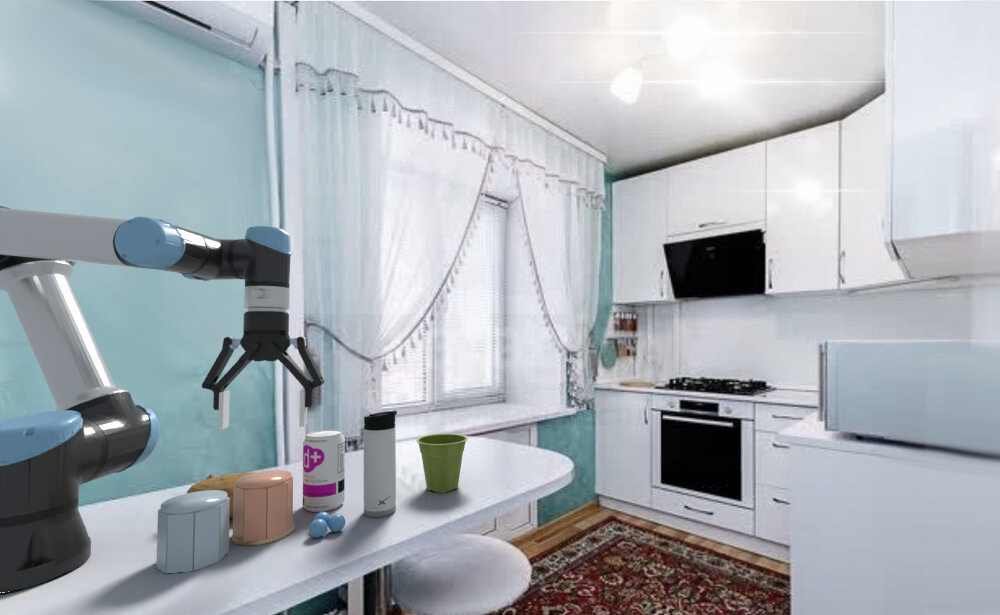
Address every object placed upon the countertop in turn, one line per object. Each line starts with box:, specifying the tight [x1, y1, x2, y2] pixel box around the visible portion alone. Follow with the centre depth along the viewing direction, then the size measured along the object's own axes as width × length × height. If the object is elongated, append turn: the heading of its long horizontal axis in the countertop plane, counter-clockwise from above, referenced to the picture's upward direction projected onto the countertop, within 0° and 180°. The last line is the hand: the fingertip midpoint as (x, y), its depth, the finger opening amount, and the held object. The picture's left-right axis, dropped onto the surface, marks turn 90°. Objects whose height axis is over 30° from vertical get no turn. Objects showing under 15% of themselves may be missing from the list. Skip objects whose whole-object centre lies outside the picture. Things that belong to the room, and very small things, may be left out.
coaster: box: [231, 522, 295, 547], centre depth 83 cm, size 10×10×1 cm
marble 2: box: [308, 519, 328, 538], centre depth 81 cm, size 3×3×3 cm
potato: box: [185, 471, 256, 519], centre depth 91 cm, size 10×14×8 cm
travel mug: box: [363, 410, 398, 518], centre depth 93 cm, size 6×7×20 cm
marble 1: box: [312, 511, 332, 528], centre depth 85 cm, size 3×3×3 cm
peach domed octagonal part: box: [232, 469, 294, 542], centre depth 83 cm, size 9×9×9 cm
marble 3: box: [327, 513, 346, 533], centre depth 83 cm, size 3×3×3 cm
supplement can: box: [302, 429, 346, 513], centre depth 97 cm, size 8×8×15 cm
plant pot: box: [416, 433, 469, 493], centre depth 107 cm, size 12×12×11 cm
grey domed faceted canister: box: [155, 490, 230, 575], centre depth 74 cm, size 9×9×9 cm
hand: (263, 426), depth 84 cm, fingers open, 13 cm apart
